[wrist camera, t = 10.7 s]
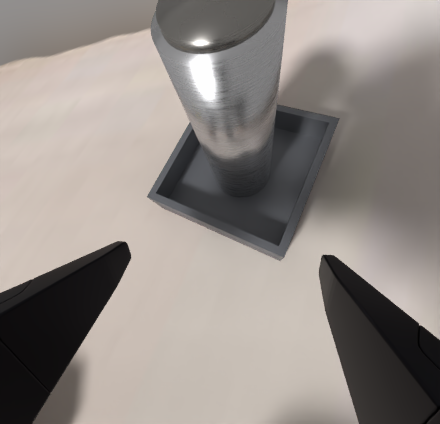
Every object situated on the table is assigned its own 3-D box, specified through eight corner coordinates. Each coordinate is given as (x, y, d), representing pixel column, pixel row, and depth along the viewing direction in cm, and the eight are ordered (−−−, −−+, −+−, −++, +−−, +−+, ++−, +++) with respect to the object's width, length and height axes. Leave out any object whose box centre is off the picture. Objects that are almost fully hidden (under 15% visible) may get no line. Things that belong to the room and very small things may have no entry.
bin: (327, 141, 19) (339, 118, 17) (280, 260, 17) (283, 257, 14) (215, 112, 23) (208, 89, 20) (162, 207, 20) (146, 196, 18)
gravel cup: (281, 175, 18) (325, -17, 6) (235, 207, 18) (189, 76, 6) (248, 139, 20) (231, -68, 8) (206, 168, 20) (124, 5, 8)
